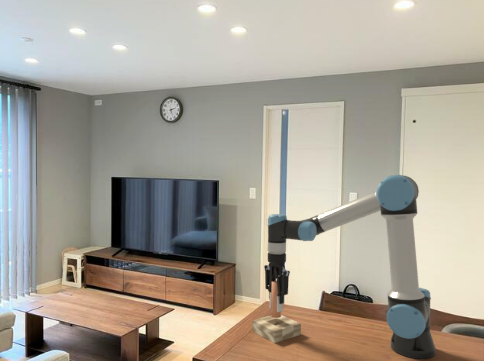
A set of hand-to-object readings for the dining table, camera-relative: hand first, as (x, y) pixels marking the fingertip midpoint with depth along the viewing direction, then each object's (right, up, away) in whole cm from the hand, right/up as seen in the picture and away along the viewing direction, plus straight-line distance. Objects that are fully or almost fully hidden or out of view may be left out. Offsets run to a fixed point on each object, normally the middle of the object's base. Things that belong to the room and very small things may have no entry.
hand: (276, 309), depth 155 cm
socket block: (0, -10, 0) cm, 10 cm away
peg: (0, -3, 0) cm, 3 cm away
